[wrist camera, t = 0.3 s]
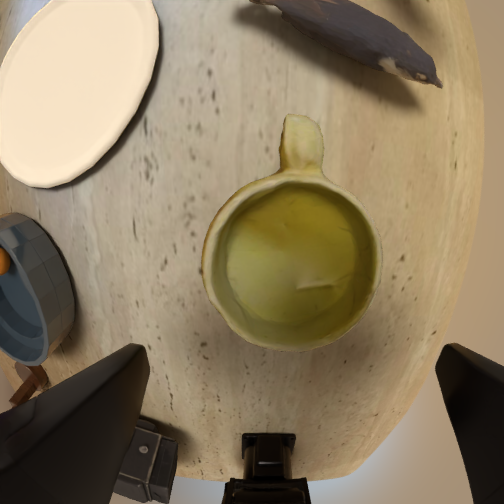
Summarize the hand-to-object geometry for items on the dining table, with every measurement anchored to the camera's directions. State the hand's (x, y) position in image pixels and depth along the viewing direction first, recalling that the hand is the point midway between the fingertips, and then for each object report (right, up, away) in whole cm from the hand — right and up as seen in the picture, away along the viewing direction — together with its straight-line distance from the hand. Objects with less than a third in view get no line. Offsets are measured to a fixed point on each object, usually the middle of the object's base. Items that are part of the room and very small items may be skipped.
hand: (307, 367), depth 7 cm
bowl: (-26, 0, +16) cm, 31 cm away
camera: (-17, -19, +23) cm, 34 cm away
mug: (+1, +6, +14) cm, 15 cm away
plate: (-19, +19, +10) cm, 28 cm away
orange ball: (-28, +2, +13) cm, 31 cm away
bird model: (+4, +19, +9) cm, 22 cm away
